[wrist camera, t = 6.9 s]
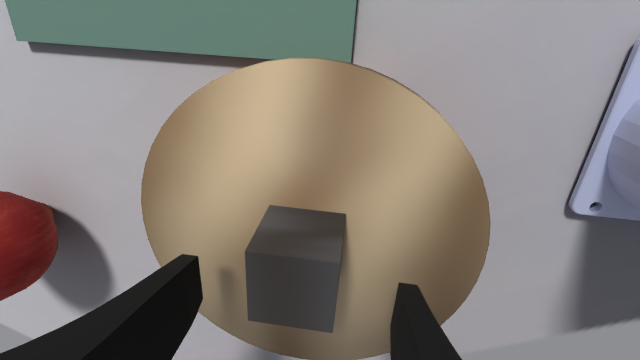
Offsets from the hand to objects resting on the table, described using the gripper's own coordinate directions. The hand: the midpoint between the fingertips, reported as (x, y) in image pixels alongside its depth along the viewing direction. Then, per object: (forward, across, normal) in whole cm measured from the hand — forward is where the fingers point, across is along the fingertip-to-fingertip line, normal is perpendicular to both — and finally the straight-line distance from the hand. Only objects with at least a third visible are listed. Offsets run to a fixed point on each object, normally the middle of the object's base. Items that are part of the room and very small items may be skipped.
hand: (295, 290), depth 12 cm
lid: (+3, 0, -1) cm, 3 cm away
